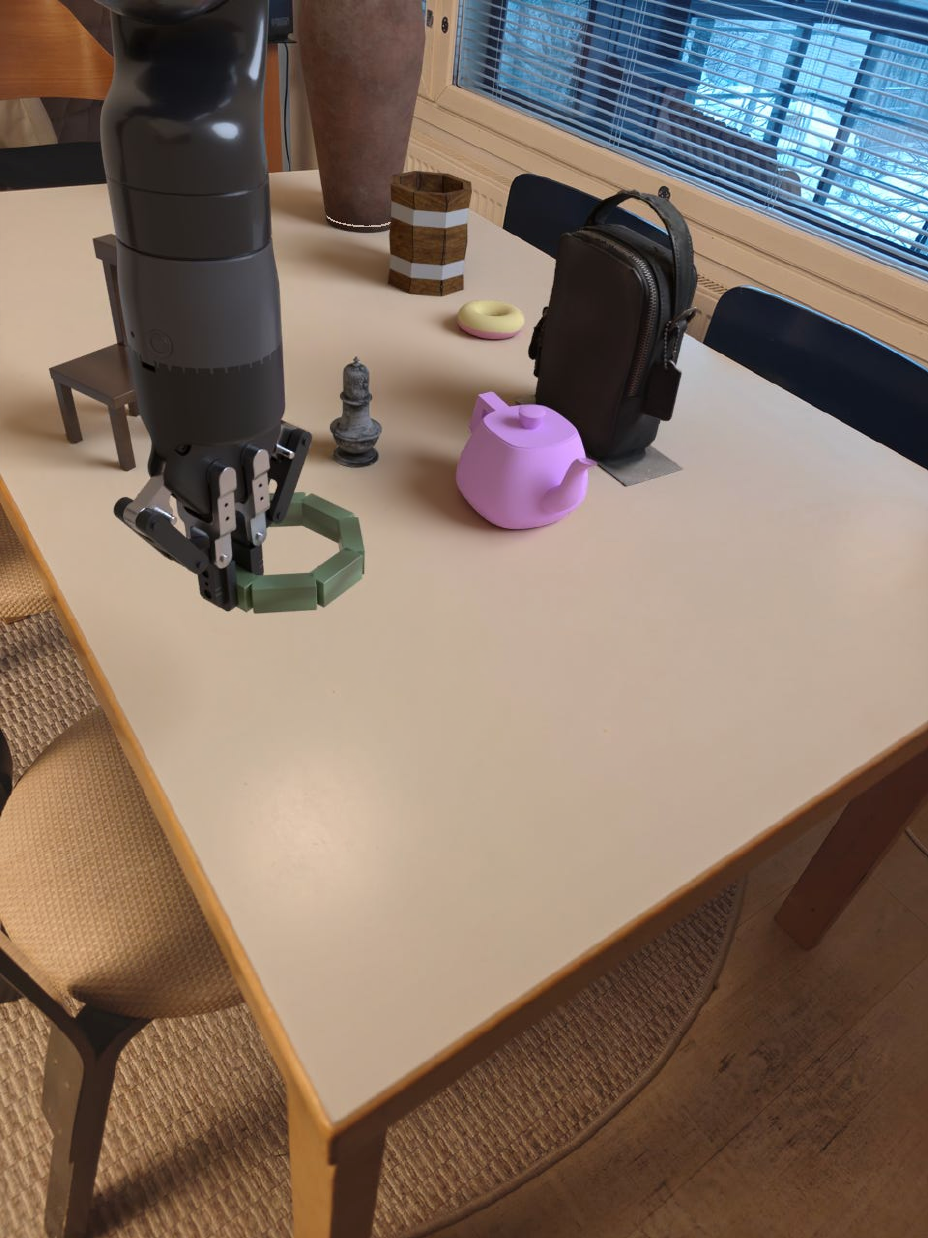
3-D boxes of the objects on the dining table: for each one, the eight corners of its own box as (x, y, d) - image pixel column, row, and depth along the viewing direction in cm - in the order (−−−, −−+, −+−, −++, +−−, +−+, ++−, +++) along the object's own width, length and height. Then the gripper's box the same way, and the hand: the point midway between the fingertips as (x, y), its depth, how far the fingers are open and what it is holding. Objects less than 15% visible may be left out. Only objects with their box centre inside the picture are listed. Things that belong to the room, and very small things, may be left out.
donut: (518, 357, 128) (518, 323, 134) (527, 330, 125) (527, 297, 131) (453, 341, 127) (456, 308, 133) (460, 313, 123) (463, 280, 129)
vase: (395, 196, 177) (404, -85, 148) (429, 239, 159) (448, -72, 129) (291, 195, 171) (279, -97, 142) (314, 240, 153) (305, -86, 123)
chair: (127, 472, 92) (77, 216, 75) (65, 440, 96) (4, 189, 79) (201, 435, 99) (170, 193, 82) (141, 407, 103) (100, 170, 86)
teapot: (525, 571, 85) (541, 475, 78) (423, 473, 97) (429, 381, 90) (626, 537, 91) (650, 444, 84) (518, 448, 103) (531, 361, 96)
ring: (287, 636, 52) (286, 611, 51) (164, 566, 56) (159, 541, 55) (393, 555, 59) (394, 531, 58) (277, 498, 63) (275, 475, 62)
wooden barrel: (479, 293, 141) (489, 194, 131) (402, 299, 136) (406, 197, 126) (434, 252, 154) (440, 159, 144) (362, 256, 149) (363, 160, 139)
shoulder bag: (683, 468, 103) (755, 223, 85) (626, 486, 99) (689, 232, 81) (568, 389, 117) (608, 162, 99) (514, 401, 113) (545, 167, 94)
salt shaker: (348, 474, 96) (348, 373, 88) (320, 450, 99) (317, 351, 91) (391, 459, 99) (395, 361, 91) (362, 437, 102) (363, 340, 94)
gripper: (247, 275, 49) (265, 526, 60) (36, 347, 40) (104, 626, 51) (351, 313, 46) (349, 569, 57) (149, 399, 37) (194, 683, 48)
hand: (233, 595), depth 54 cm, fingers closed on ring, 1 cm apart
